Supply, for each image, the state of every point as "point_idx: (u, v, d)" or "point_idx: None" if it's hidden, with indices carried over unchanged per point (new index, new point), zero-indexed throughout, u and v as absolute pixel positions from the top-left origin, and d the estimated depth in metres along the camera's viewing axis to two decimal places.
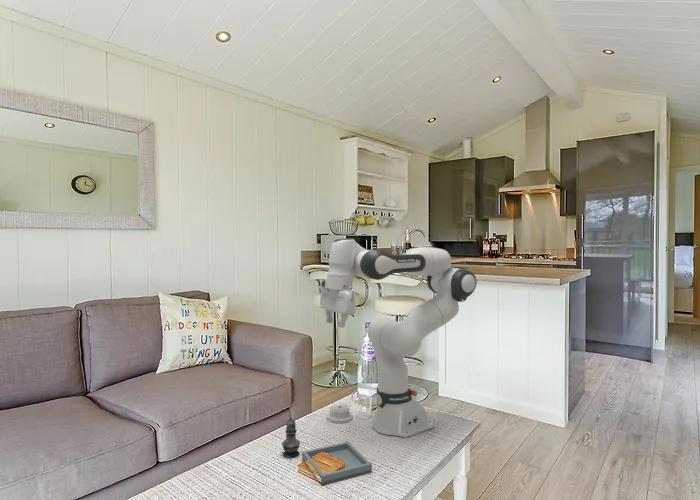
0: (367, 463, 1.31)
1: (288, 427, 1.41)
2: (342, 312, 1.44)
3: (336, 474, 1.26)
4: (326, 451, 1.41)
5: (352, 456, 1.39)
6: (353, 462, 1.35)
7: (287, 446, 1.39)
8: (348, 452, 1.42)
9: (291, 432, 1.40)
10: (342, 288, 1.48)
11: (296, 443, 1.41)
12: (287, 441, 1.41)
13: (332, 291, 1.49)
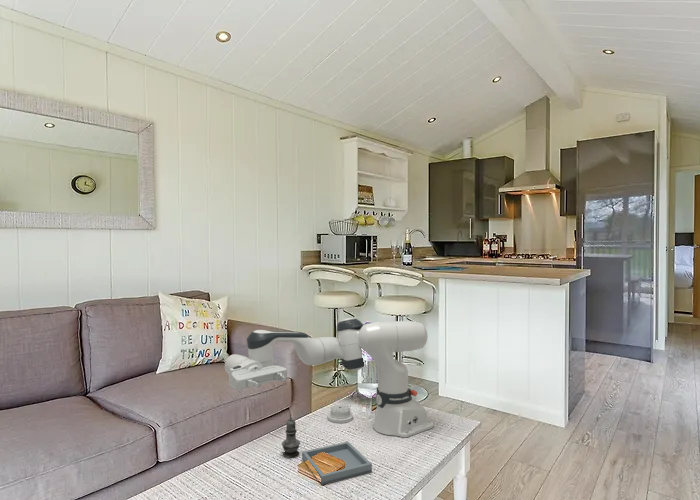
0: (367, 463, 1.31)
1: (288, 427, 1.41)
2: (282, 369, 1.60)
3: (336, 474, 1.26)
4: (326, 451, 1.41)
5: (352, 456, 1.39)
6: (353, 462, 1.35)
7: (287, 446, 1.39)
8: (348, 452, 1.42)
9: (291, 432, 1.40)
10: None
11: (296, 443, 1.41)
12: (287, 441, 1.41)
13: (257, 366, 1.60)
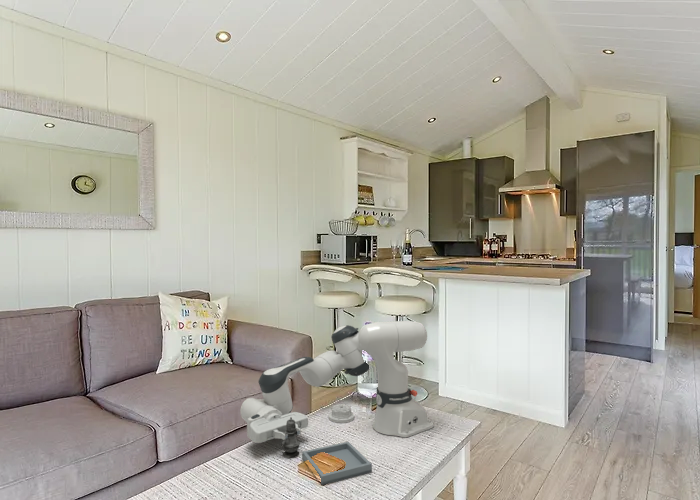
0: (367, 463, 1.31)
1: (288, 427, 1.41)
2: (302, 417, 1.50)
3: (336, 474, 1.26)
4: (326, 451, 1.41)
5: (352, 456, 1.39)
6: (353, 462, 1.35)
7: (287, 446, 1.39)
8: (348, 452, 1.42)
9: (291, 432, 1.40)
10: None
11: (296, 443, 1.41)
12: (287, 441, 1.41)
13: (276, 414, 1.50)
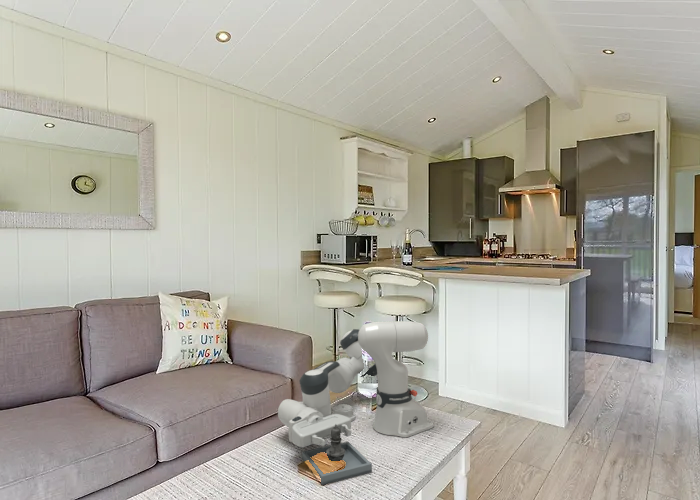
0: (367, 463, 1.31)
1: (333, 435, 1.33)
2: (345, 420, 1.43)
3: (336, 474, 1.26)
4: None
5: (352, 456, 1.39)
6: (353, 462, 1.35)
7: (333, 455, 1.32)
8: (348, 452, 1.42)
9: (337, 440, 1.33)
10: None
11: (342, 451, 1.34)
12: (332, 450, 1.33)
13: (318, 416, 1.43)
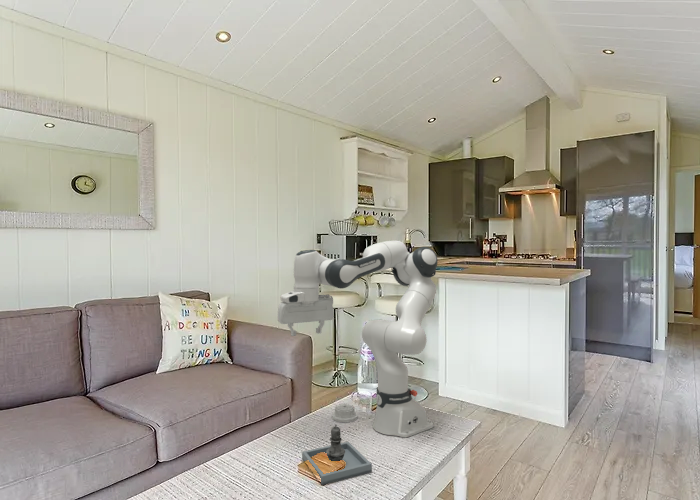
0: (367, 463, 1.31)
1: (333, 435, 1.33)
2: (328, 318, 1.59)
3: (336, 474, 1.26)
4: None
5: (352, 456, 1.39)
6: (353, 462, 1.35)
7: (333, 455, 1.32)
8: (348, 452, 1.42)
9: (337, 440, 1.33)
10: None
11: (342, 451, 1.34)
12: (332, 450, 1.33)
13: (312, 303, 1.55)
